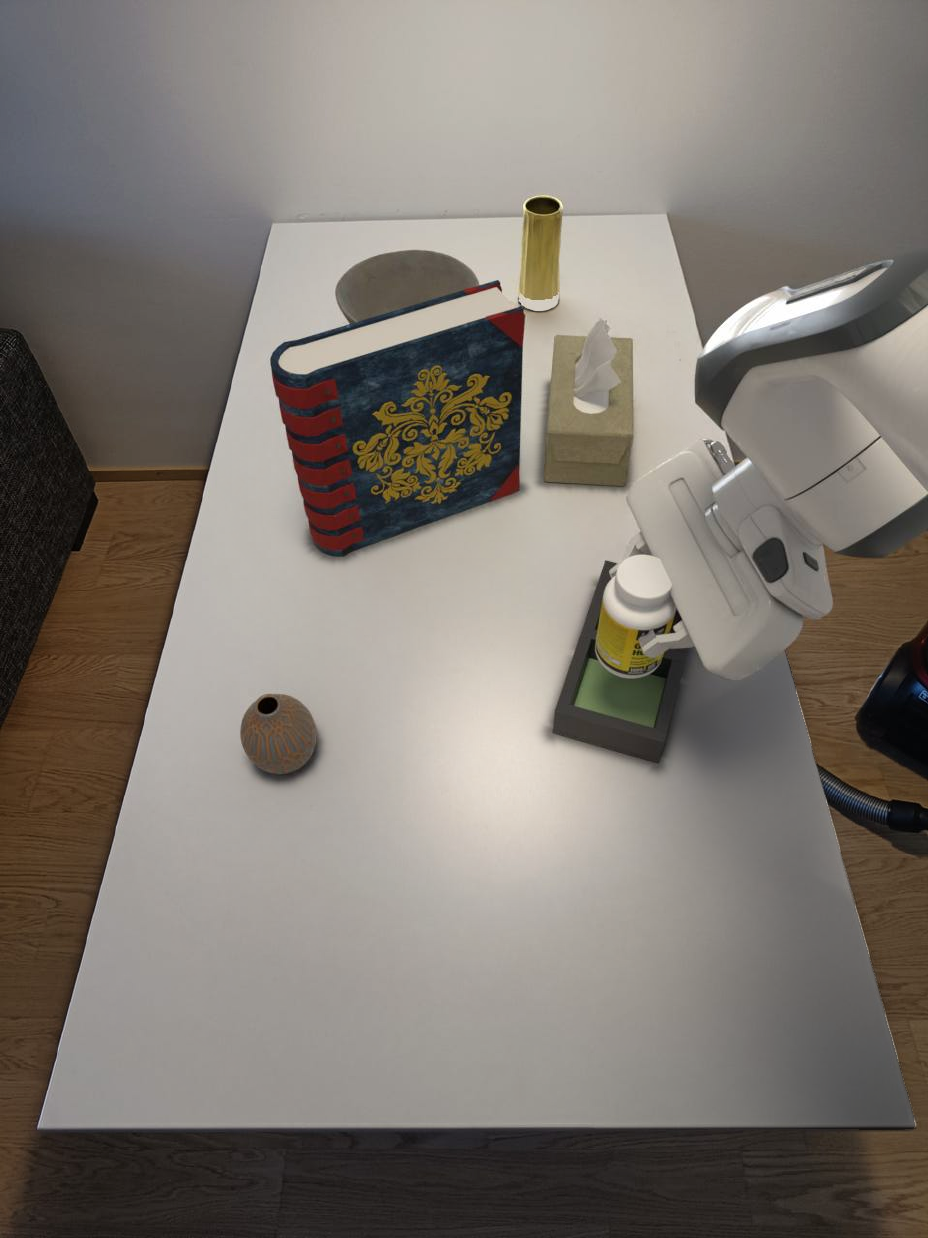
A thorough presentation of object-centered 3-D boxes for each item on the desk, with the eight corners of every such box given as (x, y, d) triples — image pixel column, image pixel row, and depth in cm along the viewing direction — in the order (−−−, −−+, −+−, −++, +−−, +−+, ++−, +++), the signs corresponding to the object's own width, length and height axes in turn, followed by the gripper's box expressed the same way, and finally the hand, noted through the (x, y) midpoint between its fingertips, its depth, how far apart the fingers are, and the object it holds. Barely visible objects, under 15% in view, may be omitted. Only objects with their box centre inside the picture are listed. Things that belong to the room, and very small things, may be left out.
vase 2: (552, 315, 127) (558, 220, 115) (511, 307, 128) (513, 212, 117) (564, 292, 130) (571, 197, 119) (525, 284, 131) (528, 190, 120)
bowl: (382, 414, 115) (374, 349, 107) (324, 338, 125) (312, 274, 117) (506, 367, 120) (506, 301, 112) (440, 298, 130) (436, 234, 122)
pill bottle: (630, 693, 78) (648, 618, 69) (580, 651, 81) (590, 573, 72) (677, 654, 80) (699, 577, 71) (626, 614, 83) (642, 535, 74)
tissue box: (625, 488, 105) (642, 381, 93) (543, 484, 106) (549, 376, 94) (625, 387, 117) (641, 279, 104) (551, 384, 117) (558, 276, 105)
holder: (658, 763, 84) (664, 742, 80) (552, 733, 86) (554, 711, 83) (696, 607, 95) (703, 583, 91) (601, 584, 97) (605, 560, 94)
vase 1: (334, 759, 85) (320, 712, 78) (270, 797, 83) (249, 753, 76) (300, 709, 88) (284, 660, 81) (238, 744, 86) (215, 696, 79)
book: (323, 565, 100) (280, 387, 80) (303, 525, 103) (257, 345, 83) (522, 493, 105) (528, 311, 86) (496, 457, 109) (496, 275, 89)
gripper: (693, 412, 73) (571, 515, 80) (803, 601, 61) (648, 704, 68) (732, 444, 77) (613, 539, 84) (843, 627, 65) (693, 722, 72)
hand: (629, 614), depth 76 cm, fingers closed on pill bottle, 6 cm apart
